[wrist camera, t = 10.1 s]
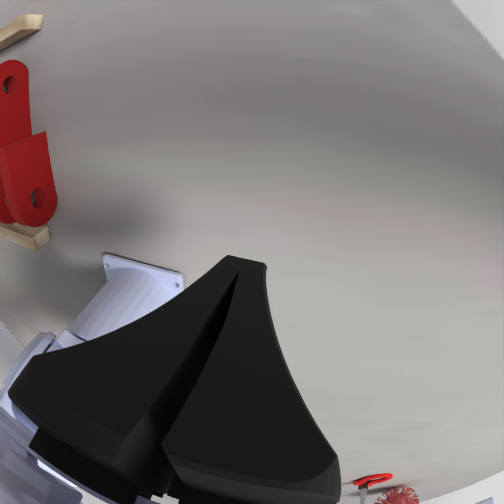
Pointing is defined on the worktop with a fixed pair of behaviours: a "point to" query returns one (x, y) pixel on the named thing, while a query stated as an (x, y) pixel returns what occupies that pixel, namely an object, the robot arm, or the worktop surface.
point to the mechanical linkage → (22, 155)
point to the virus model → (399, 497)
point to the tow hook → (370, 483)
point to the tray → (15, 231)
